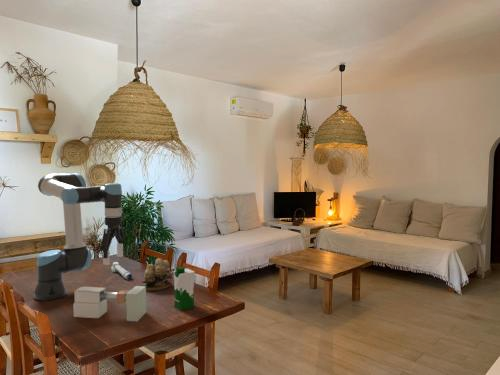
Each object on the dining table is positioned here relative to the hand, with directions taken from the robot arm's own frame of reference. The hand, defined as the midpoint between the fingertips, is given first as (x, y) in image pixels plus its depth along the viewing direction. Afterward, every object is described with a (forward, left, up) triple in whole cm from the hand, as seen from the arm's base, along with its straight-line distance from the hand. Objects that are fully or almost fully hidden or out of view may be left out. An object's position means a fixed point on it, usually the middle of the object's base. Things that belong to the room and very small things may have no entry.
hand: (113, 260), depth 180 cm
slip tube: (+4, -5, -18) cm, 19 cm away
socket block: (+13, -5, -24) cm, 28 cm away
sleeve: (-9, -5, -24) cm, 26 cm away
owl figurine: (+9, +35, -25) cm, 43 cm away
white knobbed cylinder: (-22, +54, -25) cm, 64 cm away
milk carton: (+32, +9, -25) cm, 41 cm away
